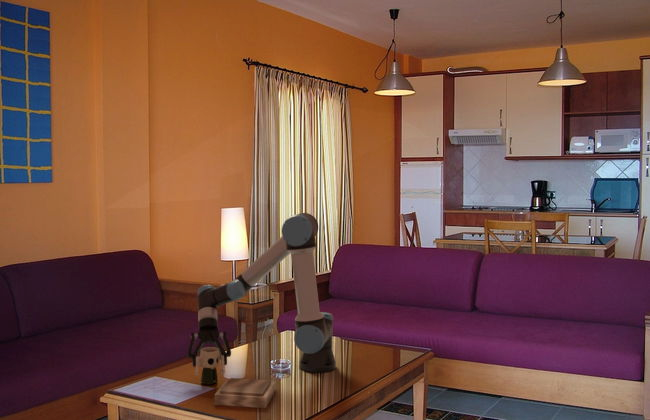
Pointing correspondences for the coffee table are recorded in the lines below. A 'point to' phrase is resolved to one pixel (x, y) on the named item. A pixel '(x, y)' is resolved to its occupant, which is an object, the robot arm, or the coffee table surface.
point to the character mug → (209, 364)
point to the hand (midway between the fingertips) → (210, 373)
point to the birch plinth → (245, 392)
